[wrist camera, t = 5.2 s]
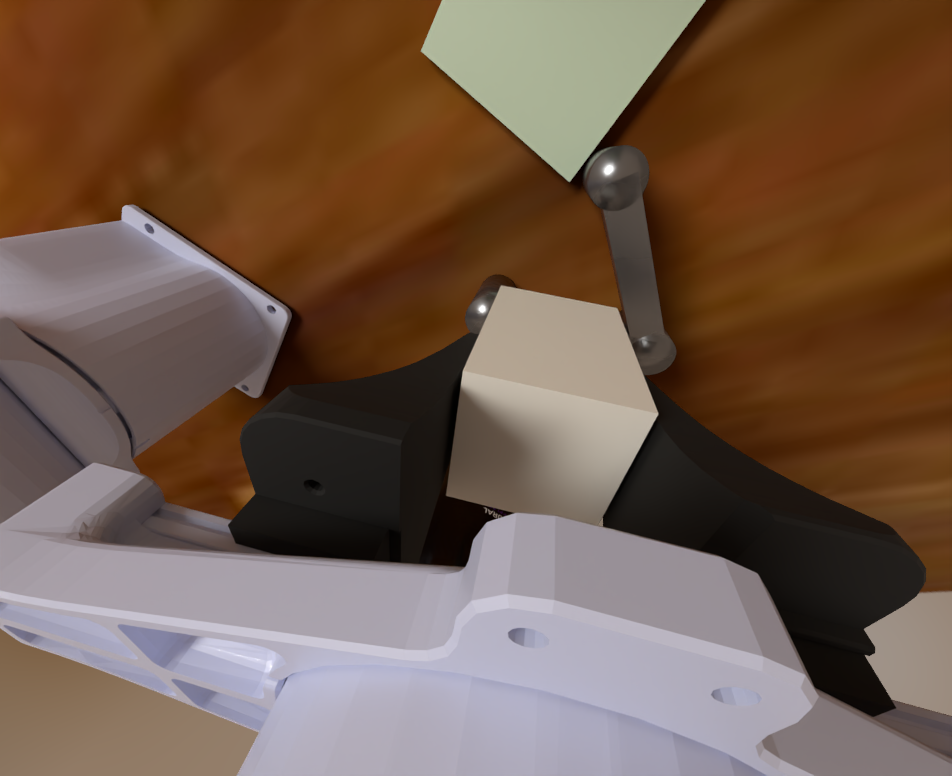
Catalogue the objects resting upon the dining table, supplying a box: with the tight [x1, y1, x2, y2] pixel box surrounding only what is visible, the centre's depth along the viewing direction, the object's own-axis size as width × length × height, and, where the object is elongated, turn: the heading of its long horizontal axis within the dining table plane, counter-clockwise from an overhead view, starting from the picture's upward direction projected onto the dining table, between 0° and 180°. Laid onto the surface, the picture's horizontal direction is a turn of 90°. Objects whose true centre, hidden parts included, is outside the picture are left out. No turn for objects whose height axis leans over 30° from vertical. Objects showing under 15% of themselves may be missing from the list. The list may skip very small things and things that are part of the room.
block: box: [446, 285, 658, 525], centre depth 11 cm, size 4×4×6 cm
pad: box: [421, 0, 706, 182], centre depth 12 cm, size 7×7×1 cm
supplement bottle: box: [418, 461, 514, 567], centre depth 20 cm, size 7×7×12 cm
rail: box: [465, 145, 676, 375], centre depth 15 cm, size 8×8×4 cm
